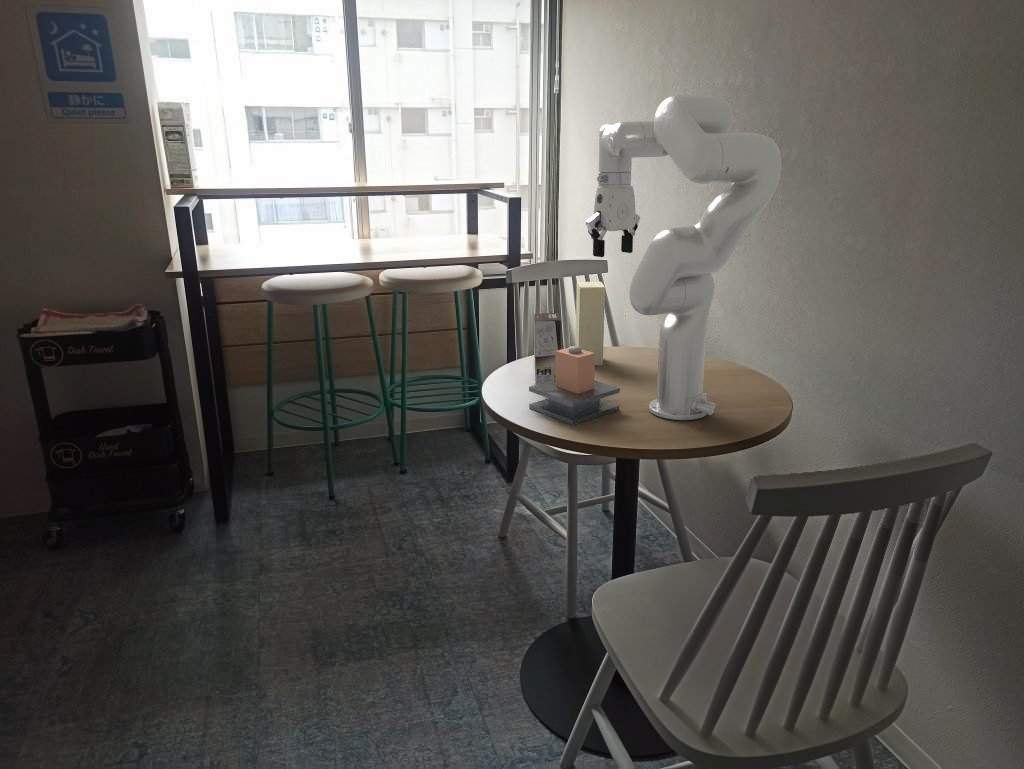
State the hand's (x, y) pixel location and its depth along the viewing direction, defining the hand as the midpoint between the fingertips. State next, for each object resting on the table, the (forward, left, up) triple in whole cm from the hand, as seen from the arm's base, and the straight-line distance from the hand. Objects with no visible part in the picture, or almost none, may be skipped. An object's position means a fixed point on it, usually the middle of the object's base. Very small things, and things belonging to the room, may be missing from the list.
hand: (612, 254), depth 173 cm
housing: (-12, +24, -25) cm, 37 cm away
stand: (-12, +24, -30) cm, 40 cm away
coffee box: (+8, +14, -31) cm, 34 cm away
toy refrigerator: (+12, -5, -31) cm, 33 cm away
